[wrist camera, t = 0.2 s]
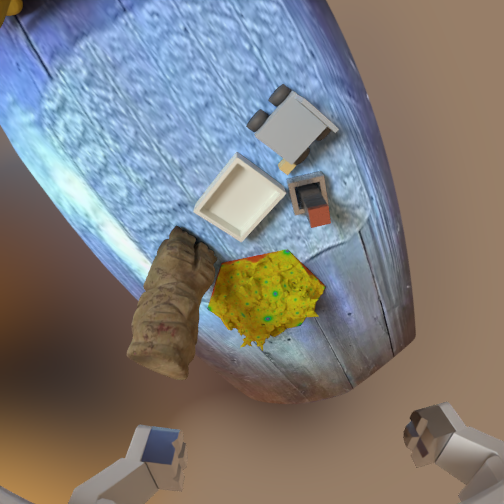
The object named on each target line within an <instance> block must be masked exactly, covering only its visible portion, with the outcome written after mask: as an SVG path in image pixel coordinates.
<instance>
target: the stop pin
mask: <svg viewBox="0 0 504 504" xmlns="http://www.w3.org/2000/svg"><path fill="white" fill-rule="evenodd" d="M297 189H298V194H299V199H300V202H301V204H302V207H303V209H304V211H305V214H306V216H307V219H308V221H309V223H310V226H311V228H313V227H317V226H322V225H326V224H330V223H331V221H330V214H329V207H328V204H327V203H326V201H325V199H324V198H323V196H322V194H321V192H320V191H319V189H318V187H317V186H316V184H315V183H311V184H306V185H302V186H298V187H297Z"/></svg>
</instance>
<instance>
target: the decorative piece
mask: <svg viewBox="0 0 504 504" xmlns="http://www.w3.org/2000/svg"><path fill="white" fill-rule="evenodd" d="M233 263H234V264H233ZM232 264H233V265H232ZM292 282H295V283H296V284H294V283H292ZM324 289H325V286H324V284H323V283H322V282H321V281H320V280H319V279H318V278H317V277H316V276H315V275H314V274H313V273H312V272H310V271H309V270H308V269H307V268H306V267H305V266H304V265H303V264H302V263H301V262H300V261H299V260H298V259H297V258H296V257H295V256H294V255H293V254H292V253H291V252H290V251H289V250H288V249H287V250H282V251H277V252H272V253H267V254H262V255H257V256H253V257H248V258H243V259H238V260H233V261H228V262H224V263H222V264H221V267H220V270H219V273H218V276H217V279H216V282H215V286H214V289H213V292H212V296H211V299H210V302H209V305H208V310H209V311H211V312H212V313H214V314H215V315H216V316H218V317H219V318H221V320H222V322H223V323H224V325H225V326H226V327H227V329H228V330H231V331H232V330H233V328H236V329H237V330H238V333H240V335H241V336H242V335H243V334H244V335H245V336H246V337H245V338H244V339H242V340H243V341H244V343H243V344H242V346H241V347H244V346H246V345H247V344H248V345H249V346H252V345H251V342H252V341H256V342H257V346H260V347H261V349H262V351H263V344H264V343H265V342H264V341H265V339H266V338H267V339H268V338H269V337H270V335H271V336H273V337H275V336H277V335H279V334H281V333H282V332H283V331H285V330H286V329H287V328H292V327H297V326H301V324H302V323H303V321H304V320H305V318H306V317H318V315H317V314H316V313H315V311H314V310H315V305H316V302H317V300H318V299H319V297H320V295H322V293H323V290H324ZM241 347H240V348H241Z"/></svg>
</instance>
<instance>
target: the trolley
mask: <svg viewBox="0 0 504 504" xmlns="http://www.w3.org/2000/svg"><path fill="white" fill-rule="evenodd" d="M290 92H291V90H290V89H289V88H288V87H287V86H285V85H284V84H282V85H281V86H279V87H278V88H277V89H276V90H275V91H274V93H273V94H272V95H271V96H270V98H269V100H268V101H269V102H271V103H272V104H273V105H274V106H278V105H279V106H278V107H277V108H276V109H275V111H274V112H273V113H272V114H271V115H270V116H269V117H268V114H266V113H265V112H264V111H263V110H261V109H260V110H259V111H257V112H256V113H255V114H254V116H253V117H252V118H251V119H250V121H249V122H248V124H247V126H246V127H248V128H249V129H250V130H252V131H253V132H256V133H255V137H256V138H258V139H259V140H260V141H262V142H263V143H264V144H265V145H267V146H268V147H269V148H271V149H272V150H273V151H275V152H276V153H277V154H278V155H280V156H281V157H282V158H284V159H285V160H286V161H287V162H289V163H290V164H291V165H292V164H293V163H294V164H296V165H298V164H300V163H302V162H303V161H304V160H305V159H306V157H307V156H308V154H309V152H310V148H308V147H309V146H310V144H311V143H312V142H313V141H314V140H315V139H316V140H317V141H321V140H322V139H324V138H325V137H326V136H327V135H328V134H329V133H330V131H331V130H332V131H333V132H335V133H336V132H337V131H338V130H339V129H338V128H337V127H336V126H335V125H334V124H333V123H332V122H331V121H329V120H328V119H327V118H326V117H325V116H324V115H323V114H322V113H321V112H320V111H318V110H317V109H316V108H315V107H314V106H313V105H312V104H310V103H309V102H308V101H307V100H306V99H305V98H303V97H301V96H299V95H298V94H297V93H295V92H294V91H292V92H291V93H290ZM289 93H290V94H289ZM267 118H268V119H267ZM266 119H267V120H266Z"/></svg>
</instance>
